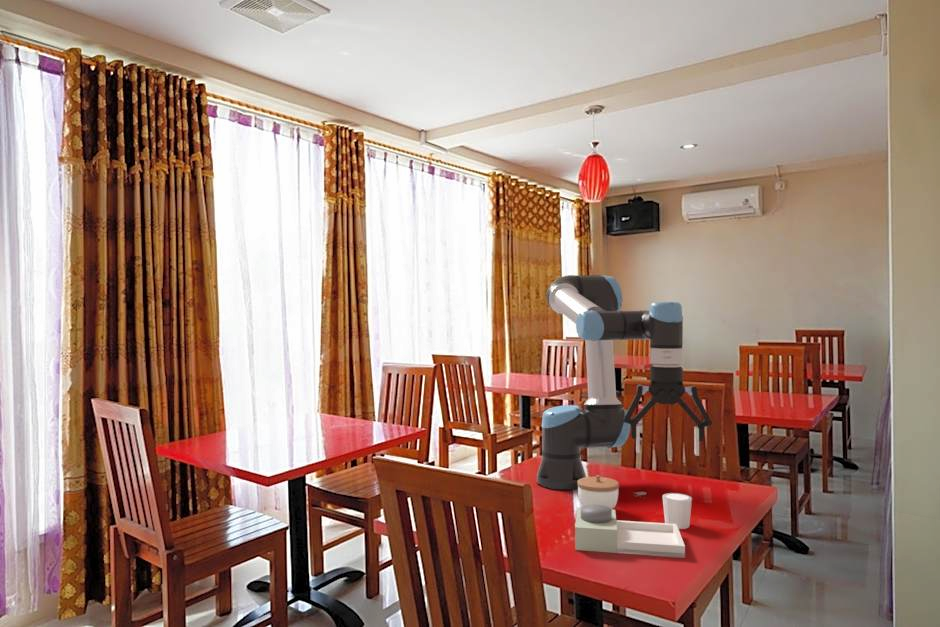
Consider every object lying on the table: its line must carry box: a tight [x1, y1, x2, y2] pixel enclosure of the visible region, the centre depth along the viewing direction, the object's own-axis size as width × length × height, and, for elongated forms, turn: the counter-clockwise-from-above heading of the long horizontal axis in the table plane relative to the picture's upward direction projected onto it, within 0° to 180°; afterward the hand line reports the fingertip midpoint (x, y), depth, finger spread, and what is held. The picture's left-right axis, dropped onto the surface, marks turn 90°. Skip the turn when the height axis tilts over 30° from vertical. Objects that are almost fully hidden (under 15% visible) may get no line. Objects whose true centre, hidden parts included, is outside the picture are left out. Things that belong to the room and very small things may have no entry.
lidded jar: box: [577, 474, 620, 510], centre depth 161 cm, size 11×11×9 cm
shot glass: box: [661, 492, 693, 530], centre depth 150 cm, size 7×7×7 cm
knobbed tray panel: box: [574, 505, 686, 559], centre depth 139 cm, size 14×23×7 cm, turn 78°
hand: (667, 453), depth 148 cm, fingers open, 13 cm apart
